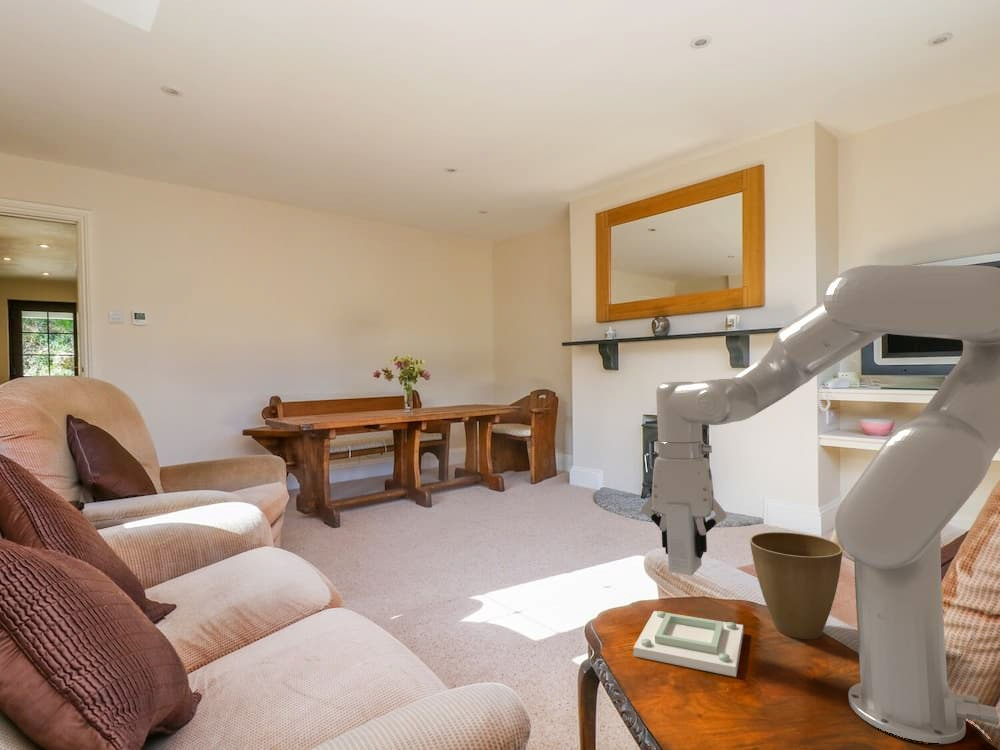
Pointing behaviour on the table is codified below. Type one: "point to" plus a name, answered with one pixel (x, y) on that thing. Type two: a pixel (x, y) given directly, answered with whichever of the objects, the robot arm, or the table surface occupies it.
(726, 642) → the baseplate
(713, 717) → the table surface
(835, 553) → the plant pot
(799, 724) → the table surface
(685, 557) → the skincare box
